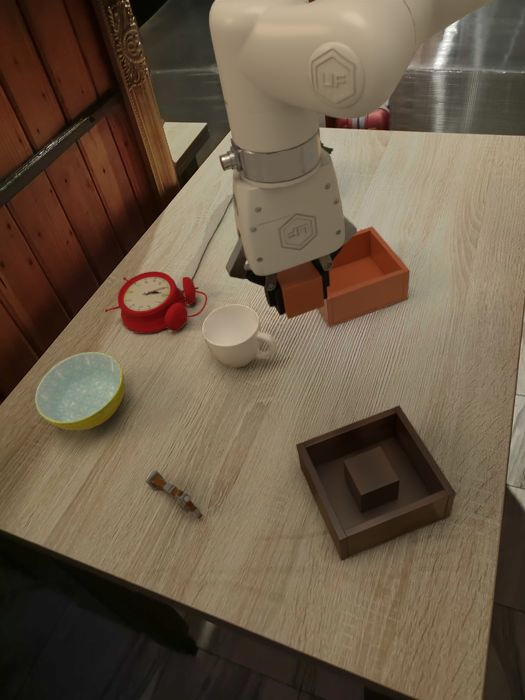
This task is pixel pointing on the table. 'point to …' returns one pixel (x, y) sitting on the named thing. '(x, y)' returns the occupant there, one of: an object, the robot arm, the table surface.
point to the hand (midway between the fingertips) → (298, 298)
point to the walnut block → (371, 479)
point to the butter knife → (205, 239)
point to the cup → (236, 335)
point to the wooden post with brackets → (173, 492)
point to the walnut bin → (407, 461)
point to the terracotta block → (301, 289)
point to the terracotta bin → (364, 278)
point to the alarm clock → (155, 302)
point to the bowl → (81, 391)
